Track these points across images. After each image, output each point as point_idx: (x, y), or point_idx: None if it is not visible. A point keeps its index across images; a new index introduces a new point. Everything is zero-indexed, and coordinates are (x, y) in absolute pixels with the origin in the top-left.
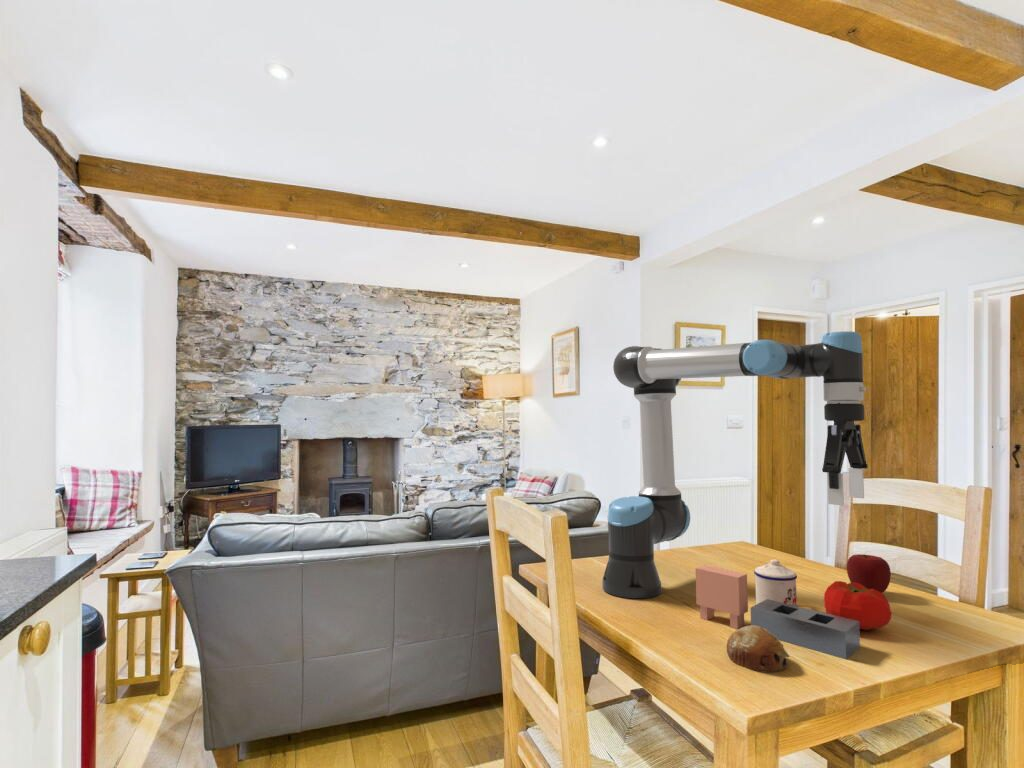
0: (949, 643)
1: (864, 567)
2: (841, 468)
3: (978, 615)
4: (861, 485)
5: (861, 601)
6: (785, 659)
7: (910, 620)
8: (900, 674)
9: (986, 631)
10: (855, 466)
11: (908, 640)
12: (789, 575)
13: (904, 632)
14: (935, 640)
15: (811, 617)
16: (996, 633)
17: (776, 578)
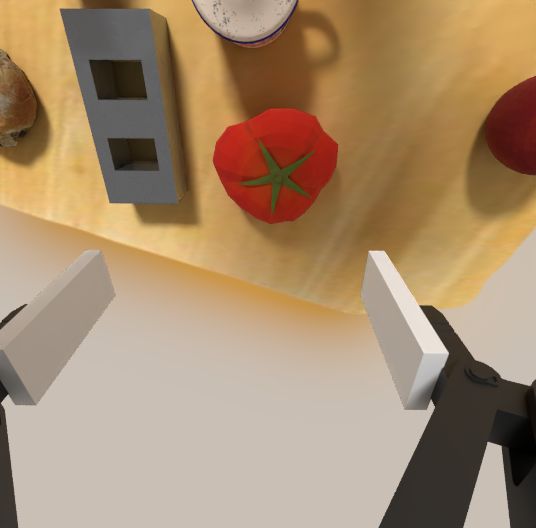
0: (299, 266)
1: (512, 131)
2: (4, 430)
3: (460, 275)
4: (375, 331)
5: (234, 197)
6: (20, 136)
7: (370, 213)
8: (142, 247)
9: None
10: (441, 392)
11: (271, 230)
12: (224, 32)
13: (303, 219)
14: (298, 253)
15: (126, 137)
16: None
17: (194, 3)
